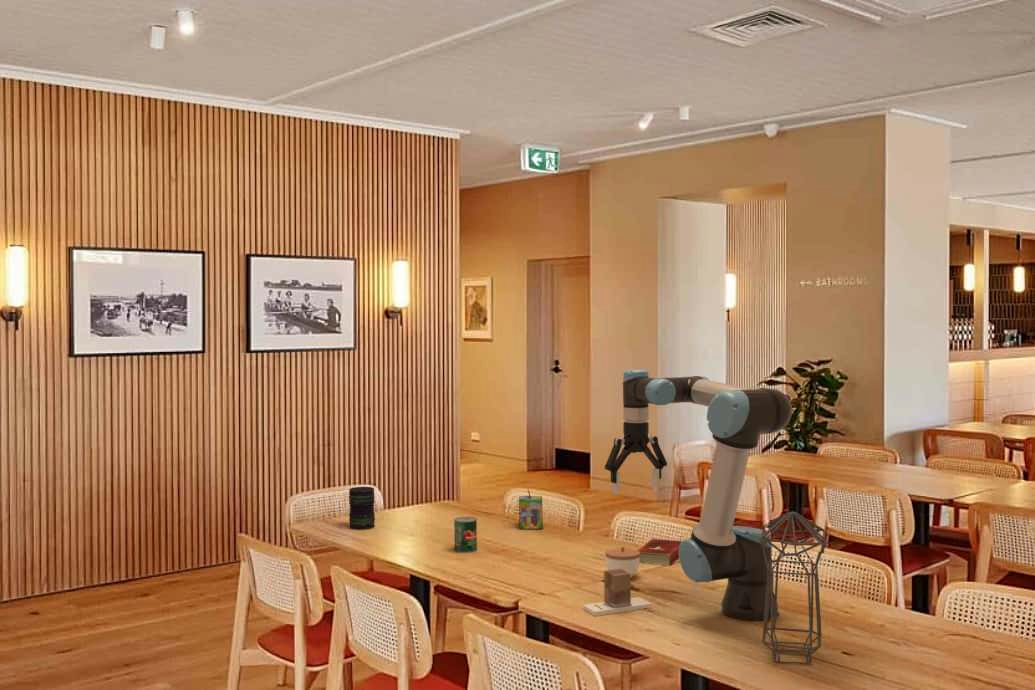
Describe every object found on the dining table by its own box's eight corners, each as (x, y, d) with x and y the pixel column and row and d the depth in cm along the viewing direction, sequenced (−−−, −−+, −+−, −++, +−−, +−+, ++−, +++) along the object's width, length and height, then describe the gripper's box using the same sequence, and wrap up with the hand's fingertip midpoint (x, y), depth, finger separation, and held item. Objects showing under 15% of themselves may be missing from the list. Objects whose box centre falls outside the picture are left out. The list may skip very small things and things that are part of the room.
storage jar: (353, 524, 391) (353, 486, 391) (378, 524, 390) (377, 486, 390) (346, 529, 382) (345, 491, 381) (370, 530, 380) (370, 491, 380)
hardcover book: (686, 552, 342) (686, 540, 342) (670, 567, 323) (670, 554, 322) (652, 549, 347) (652, 537, 347) (634, 563, 327) (634, 551, 327)
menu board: (651, 607, 277) (651, 603, 277) (594, 616, 270) (594, 611, 270) (638, 601, 283) (638, 596, 283) (583, 609, 276) (583, 604, 276)
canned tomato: (472, 553, 341) (471, 522, 341) (451, 552, 344) (450, 520, 344) (480, 548, 349) (480, 517, 349) (459, 546, 352) (459, 516, 351)
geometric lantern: (760, 644, 246) (760, 504, 244) (827, 650, 241) (827, 507, 240) (756, 666, 231) (756, 516, 229) (827, 672, 226) (827, 520, 225)
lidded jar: (638, 582, 304) (638, 551, 303) (603, 580, 306) (603, 550, 305) (641, 573, 314) (641, 543, 314) (607, 571, 316) (607, 542, 316)
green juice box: (543, 529, 378) (542, 491, 378) (519, 529, 378) (518, 491, 378) (542, 524, 387) (542, 486, 387) (519, 524, 388) (518, 487, 387)
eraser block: (630, 605, 275) (630, 573, 275) (614, 608, 273) (614, 575, 273) (619, 600, 280) (619, 568, 280) (604, 602, 278) (604, 570, 278)
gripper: (664, 417, 305) (665, 486, 306) (593, 422, 295) (593, 493, 296) (678, 420, 298) (678, 490, 299) (605, 424, 288) (605, 497, 289)
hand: (636, 492), depth 297 cm, fingers open, 13 cm apart
